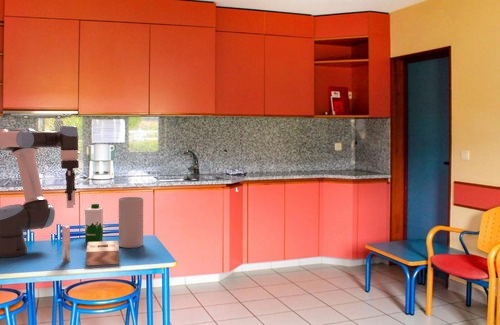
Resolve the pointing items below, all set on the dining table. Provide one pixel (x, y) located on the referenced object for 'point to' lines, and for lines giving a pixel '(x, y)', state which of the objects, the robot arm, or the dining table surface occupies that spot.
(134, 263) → the dining table surface
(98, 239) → the milk carton
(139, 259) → the dining table surface
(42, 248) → the dining table surface
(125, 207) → the cylinder vase
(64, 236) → the beige wooden bar
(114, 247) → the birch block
